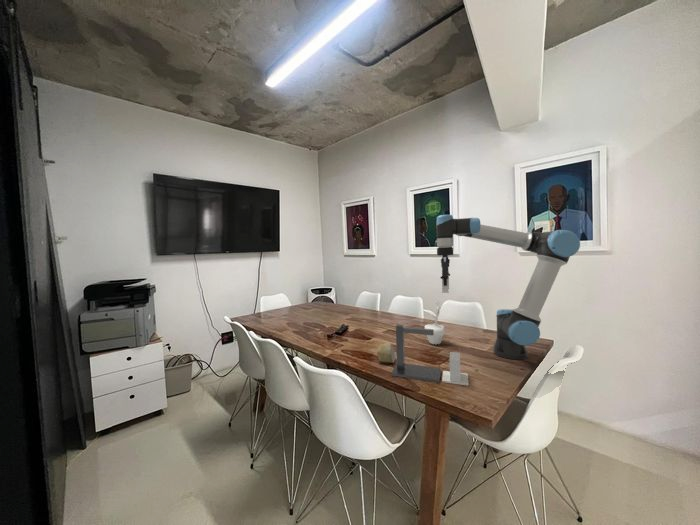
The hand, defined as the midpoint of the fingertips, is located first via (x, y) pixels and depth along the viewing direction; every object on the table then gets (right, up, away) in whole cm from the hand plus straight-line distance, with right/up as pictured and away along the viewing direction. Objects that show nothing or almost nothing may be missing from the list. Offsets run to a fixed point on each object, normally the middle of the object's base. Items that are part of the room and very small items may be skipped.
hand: (445, 290), depth 133 cm
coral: (-29, -36, +2) cm, 46 cm away
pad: (-2, -35, -18) cm, 40 cm away
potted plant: (+3, -34, +28) cm, 44 cm away
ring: (-2, -35, -18) cm, 39 cm away
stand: (-17, -36, -12) cm, 41 cm away
